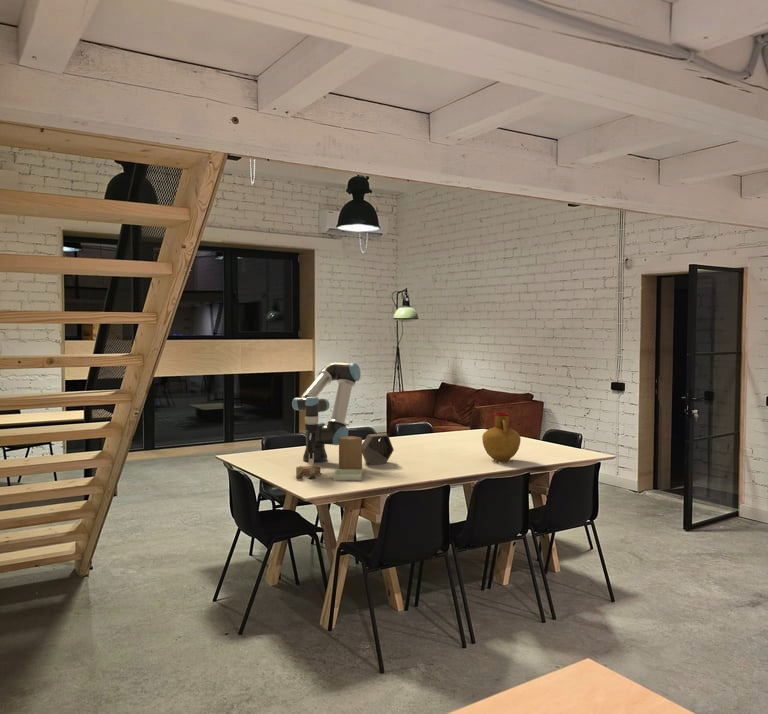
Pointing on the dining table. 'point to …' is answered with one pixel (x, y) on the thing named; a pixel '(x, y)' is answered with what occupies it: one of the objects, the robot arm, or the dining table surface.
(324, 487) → the dining table surface
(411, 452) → the dining table surface
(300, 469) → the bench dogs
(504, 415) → the vase
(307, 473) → the wooden book-shaped slab
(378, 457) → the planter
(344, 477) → the tray
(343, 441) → the block
